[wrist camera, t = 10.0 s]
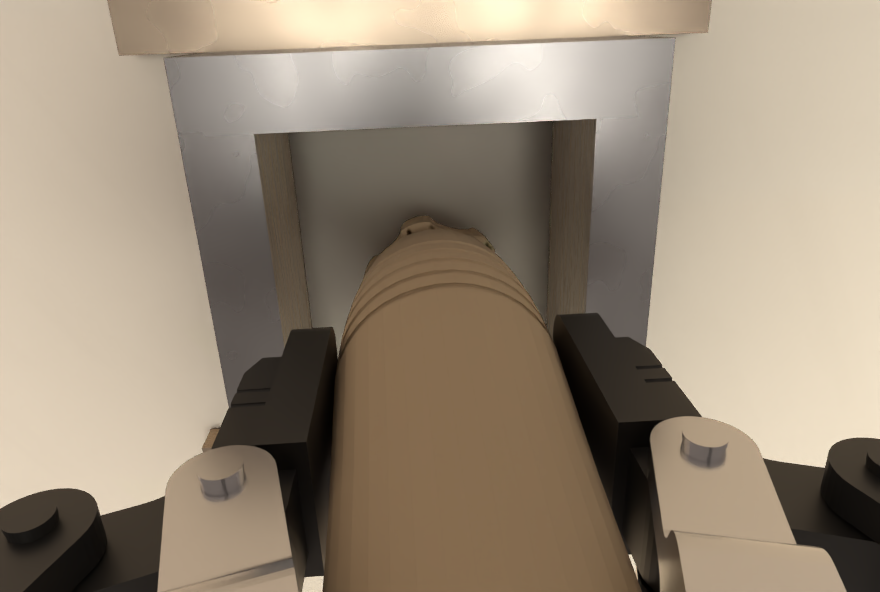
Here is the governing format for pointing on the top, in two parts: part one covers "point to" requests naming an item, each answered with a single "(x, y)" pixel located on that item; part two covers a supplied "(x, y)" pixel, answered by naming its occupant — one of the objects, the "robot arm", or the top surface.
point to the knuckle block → (412, 105)
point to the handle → (460, 436)
